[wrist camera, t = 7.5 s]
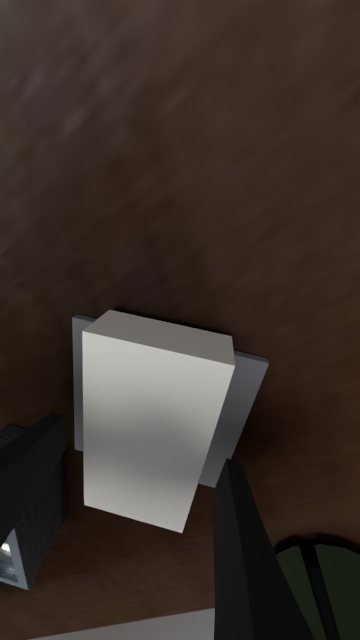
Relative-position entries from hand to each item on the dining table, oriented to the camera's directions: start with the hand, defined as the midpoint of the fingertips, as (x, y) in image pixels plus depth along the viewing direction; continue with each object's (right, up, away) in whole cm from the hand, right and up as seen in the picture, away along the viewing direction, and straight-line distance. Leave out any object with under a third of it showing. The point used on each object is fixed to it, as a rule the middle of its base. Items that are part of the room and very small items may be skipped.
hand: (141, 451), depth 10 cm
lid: (0, 0, +1) cm, 1 cm away
